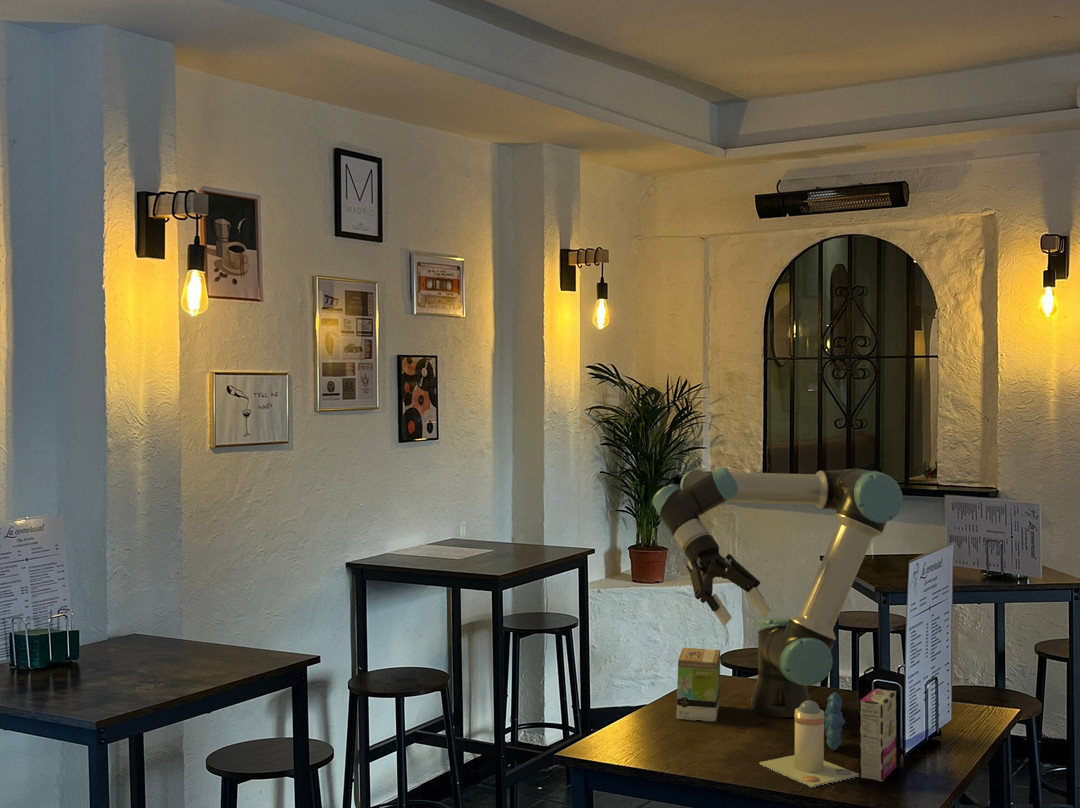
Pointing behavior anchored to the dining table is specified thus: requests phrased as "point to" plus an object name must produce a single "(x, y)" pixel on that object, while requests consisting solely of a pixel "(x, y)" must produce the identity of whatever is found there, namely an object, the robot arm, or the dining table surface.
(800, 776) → the card
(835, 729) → the grapes
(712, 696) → the tea box
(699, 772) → the dining table surface
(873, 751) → the candy bar box
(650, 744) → the dining table surface
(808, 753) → the ball tube
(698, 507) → the robot arm
